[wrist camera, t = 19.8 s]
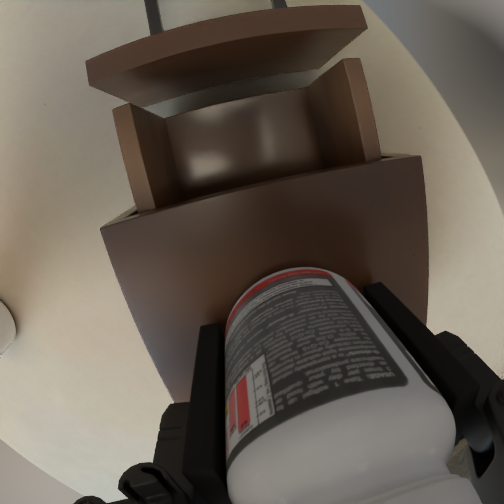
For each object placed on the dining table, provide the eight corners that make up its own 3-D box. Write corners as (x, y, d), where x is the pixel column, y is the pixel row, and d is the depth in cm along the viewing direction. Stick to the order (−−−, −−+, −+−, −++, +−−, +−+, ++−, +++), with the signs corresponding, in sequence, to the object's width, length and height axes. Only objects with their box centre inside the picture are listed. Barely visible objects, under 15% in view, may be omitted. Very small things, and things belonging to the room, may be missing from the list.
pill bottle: (208, 365, 13) (197, 603, 3) (253, 241, 11) (327, 564, 2) (327, 389, 13) (394, 579, 4) (385, 285, 12) (549, 471, 2)
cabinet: (156, 192, 20) (99, 228, 11) (341, 150, 20) (421, 155, 10) (214, 369, 24) (210, 464, 15) (363, 333, 24) (414, 412, 15)
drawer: (120, -7, 14) (77, -62, 7) (282, -42, 14) (305, -108, 7) (190, 288, 21) (172, 357, 14) (353, 249, 21) (408, 299, 13)
